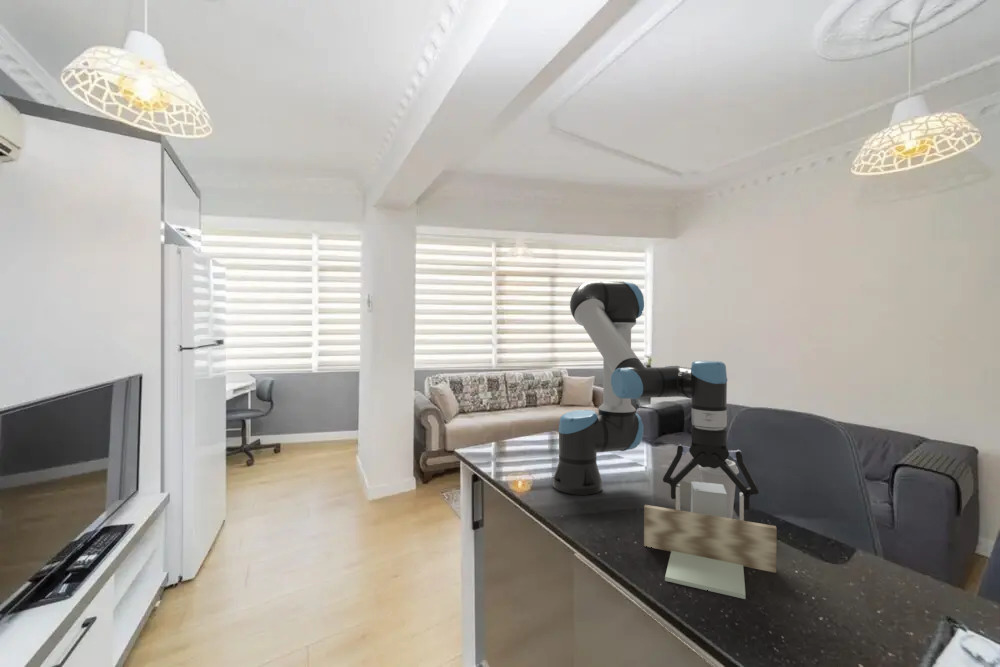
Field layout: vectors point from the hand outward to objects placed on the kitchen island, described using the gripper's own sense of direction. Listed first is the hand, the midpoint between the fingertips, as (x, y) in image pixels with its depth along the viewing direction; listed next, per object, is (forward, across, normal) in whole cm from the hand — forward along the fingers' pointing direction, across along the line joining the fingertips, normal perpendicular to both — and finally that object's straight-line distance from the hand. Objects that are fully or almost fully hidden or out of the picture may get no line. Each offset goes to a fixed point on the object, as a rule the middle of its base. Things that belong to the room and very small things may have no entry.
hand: (708, 517), depth 108 cm
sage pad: (+6, 0, -17) cm, 18 cm away
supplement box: (+6, 0, 0) cm, 6 cm away
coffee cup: (+6, +2, +15) cm, 16 cm away
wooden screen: (+6, 0, -9) cm, 10 cm away
